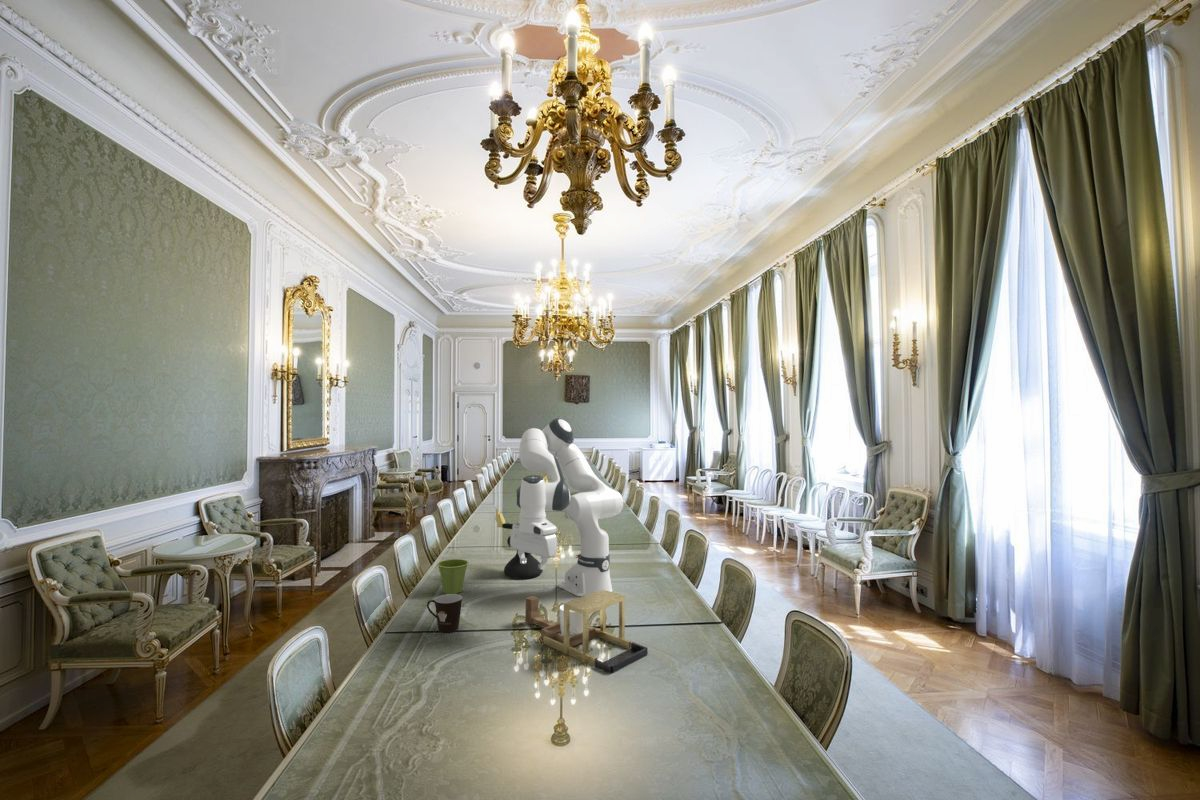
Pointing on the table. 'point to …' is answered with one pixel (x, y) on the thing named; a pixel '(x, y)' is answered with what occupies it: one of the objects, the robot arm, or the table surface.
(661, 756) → the table surface
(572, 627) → the white cup
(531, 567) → the candelabra
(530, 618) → the wooden frame with handle
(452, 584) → the plant pot
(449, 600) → the coffee mug
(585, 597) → the tunnel
